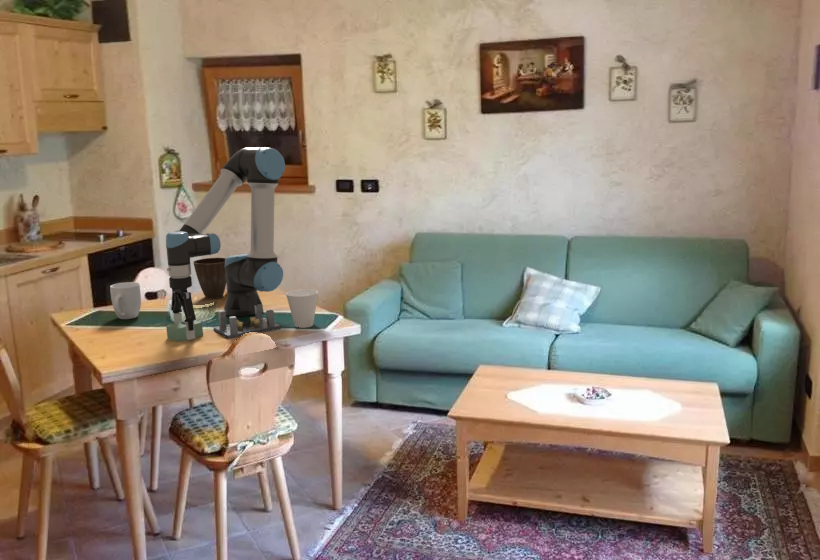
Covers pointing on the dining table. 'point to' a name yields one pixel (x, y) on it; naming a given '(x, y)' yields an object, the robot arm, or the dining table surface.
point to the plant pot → (211, 276)
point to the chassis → (246, 324)
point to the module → (182, 331)
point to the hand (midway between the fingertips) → (184, 335)
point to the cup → (302, 306)
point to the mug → (126, 299)
